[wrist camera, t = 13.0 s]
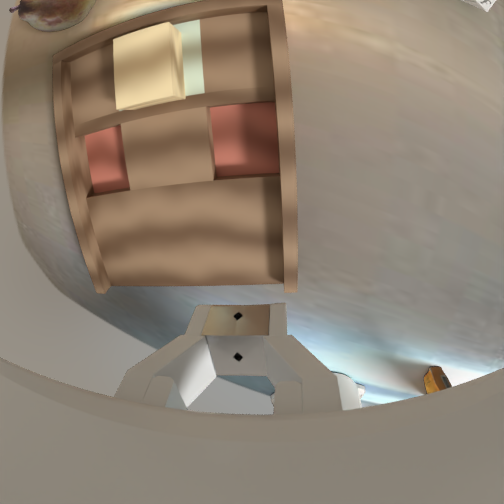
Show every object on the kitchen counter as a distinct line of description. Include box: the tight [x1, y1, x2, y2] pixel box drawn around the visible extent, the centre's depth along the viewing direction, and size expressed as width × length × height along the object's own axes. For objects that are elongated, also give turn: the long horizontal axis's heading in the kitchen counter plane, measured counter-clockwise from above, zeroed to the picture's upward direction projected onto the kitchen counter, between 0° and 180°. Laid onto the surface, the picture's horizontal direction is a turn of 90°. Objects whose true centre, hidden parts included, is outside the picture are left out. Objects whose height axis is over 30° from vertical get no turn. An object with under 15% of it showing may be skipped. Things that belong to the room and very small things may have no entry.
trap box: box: [53, 0, 298, 294], centre depth 27 cm, size 33×27×4 cm
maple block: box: [113, 22, 186, 110], centre depth 21 cm, size 8×6×4 cm
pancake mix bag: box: [424, 366, 452, 394], centre depth 34 cm, size 7×19×28 cm, turn 35°
